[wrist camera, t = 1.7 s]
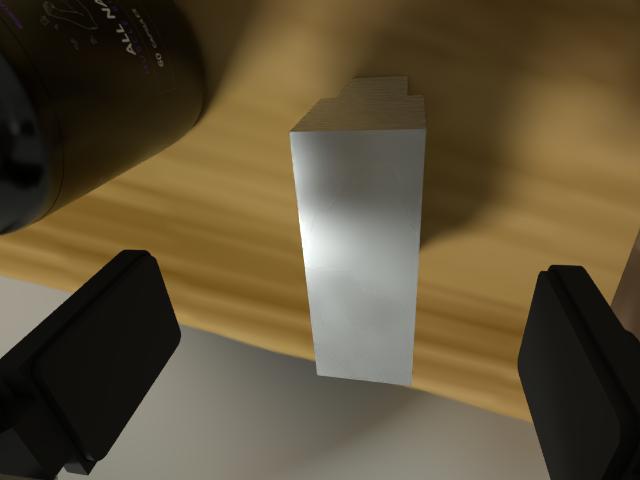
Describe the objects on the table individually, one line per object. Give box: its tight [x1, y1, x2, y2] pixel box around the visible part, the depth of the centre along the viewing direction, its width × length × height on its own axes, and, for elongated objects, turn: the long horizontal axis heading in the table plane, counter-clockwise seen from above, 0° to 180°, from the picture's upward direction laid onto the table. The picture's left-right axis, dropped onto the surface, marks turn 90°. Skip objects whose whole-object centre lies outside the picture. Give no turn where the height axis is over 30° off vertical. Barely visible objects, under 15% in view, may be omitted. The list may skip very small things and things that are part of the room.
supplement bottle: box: [0, 0, 205, 236], centre depth 11 cm, size 7×7×12 cm
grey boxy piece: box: [289, 76, 426, 386], centre depth 14 cm, size 8×3×7 cm, turn 5°
